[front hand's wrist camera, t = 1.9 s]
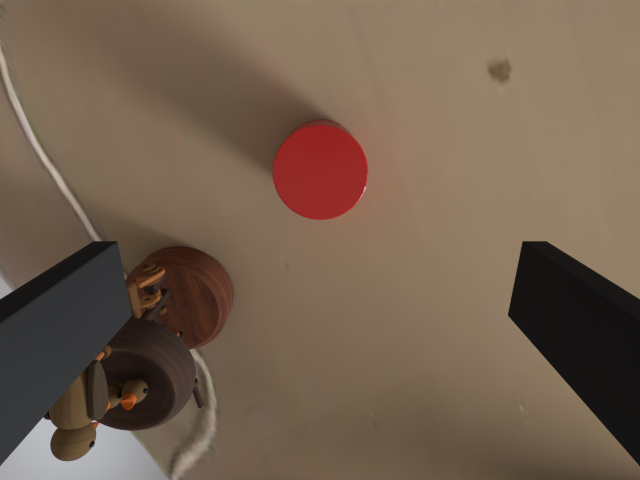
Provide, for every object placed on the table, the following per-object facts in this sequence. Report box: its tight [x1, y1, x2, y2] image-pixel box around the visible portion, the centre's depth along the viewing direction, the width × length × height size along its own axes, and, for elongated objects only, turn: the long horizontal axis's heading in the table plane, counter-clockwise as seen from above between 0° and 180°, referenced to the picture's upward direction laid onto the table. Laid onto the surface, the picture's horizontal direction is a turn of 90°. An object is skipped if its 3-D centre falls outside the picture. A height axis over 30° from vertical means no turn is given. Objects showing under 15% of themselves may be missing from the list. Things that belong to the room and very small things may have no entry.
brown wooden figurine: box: [44, 247, 233, 461], centre depth 32 cm, size 15×11×20 cm
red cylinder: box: [273, 120, 368, 220], centre depth 32 cm, size 7×7×7 cm
